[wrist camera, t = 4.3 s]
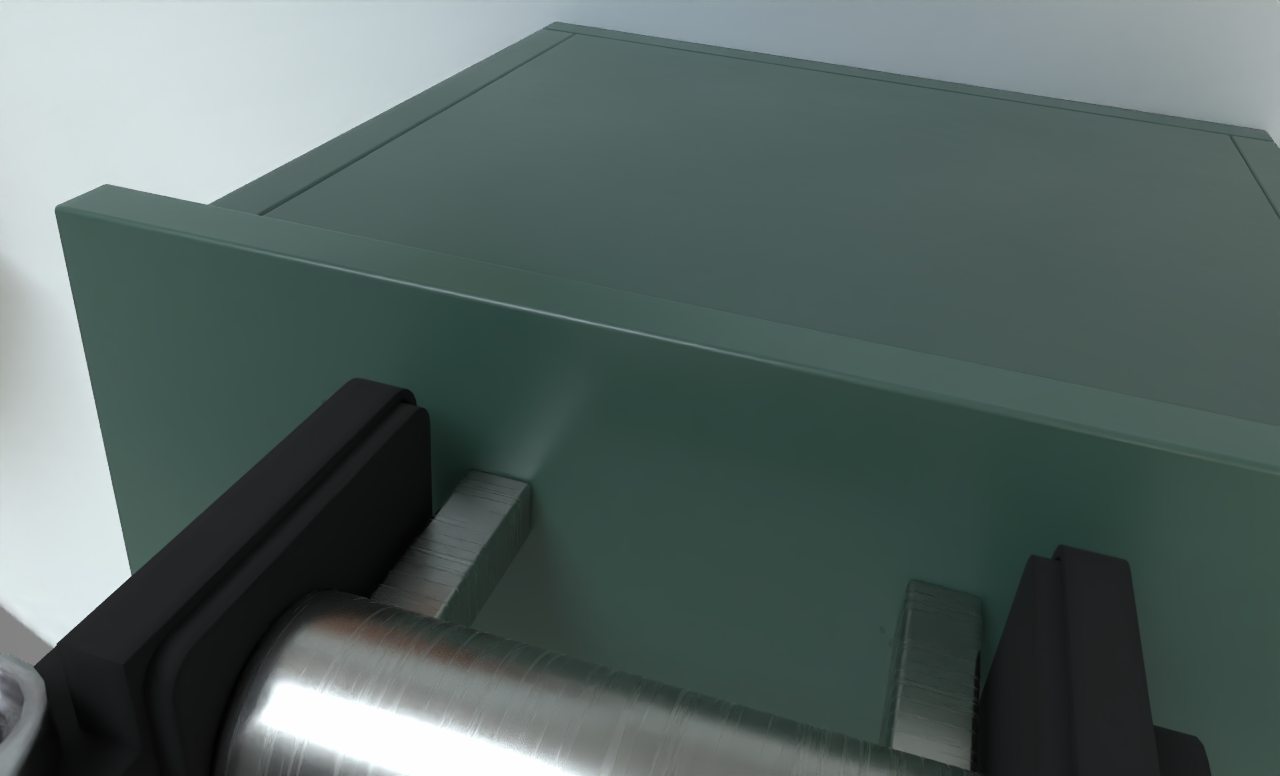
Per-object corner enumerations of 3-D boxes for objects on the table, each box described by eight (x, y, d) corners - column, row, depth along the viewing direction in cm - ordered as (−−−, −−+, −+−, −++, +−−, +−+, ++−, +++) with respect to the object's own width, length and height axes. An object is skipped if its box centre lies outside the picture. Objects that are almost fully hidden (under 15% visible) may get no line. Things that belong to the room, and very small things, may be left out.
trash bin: (554, 21, 24) (119, 246, 12) (1267, 129, 21) (1586, 570, 9) (531, 616, 33) (269, 1070, 21) (1025, 754, 30) (1031, 1372, 18)
